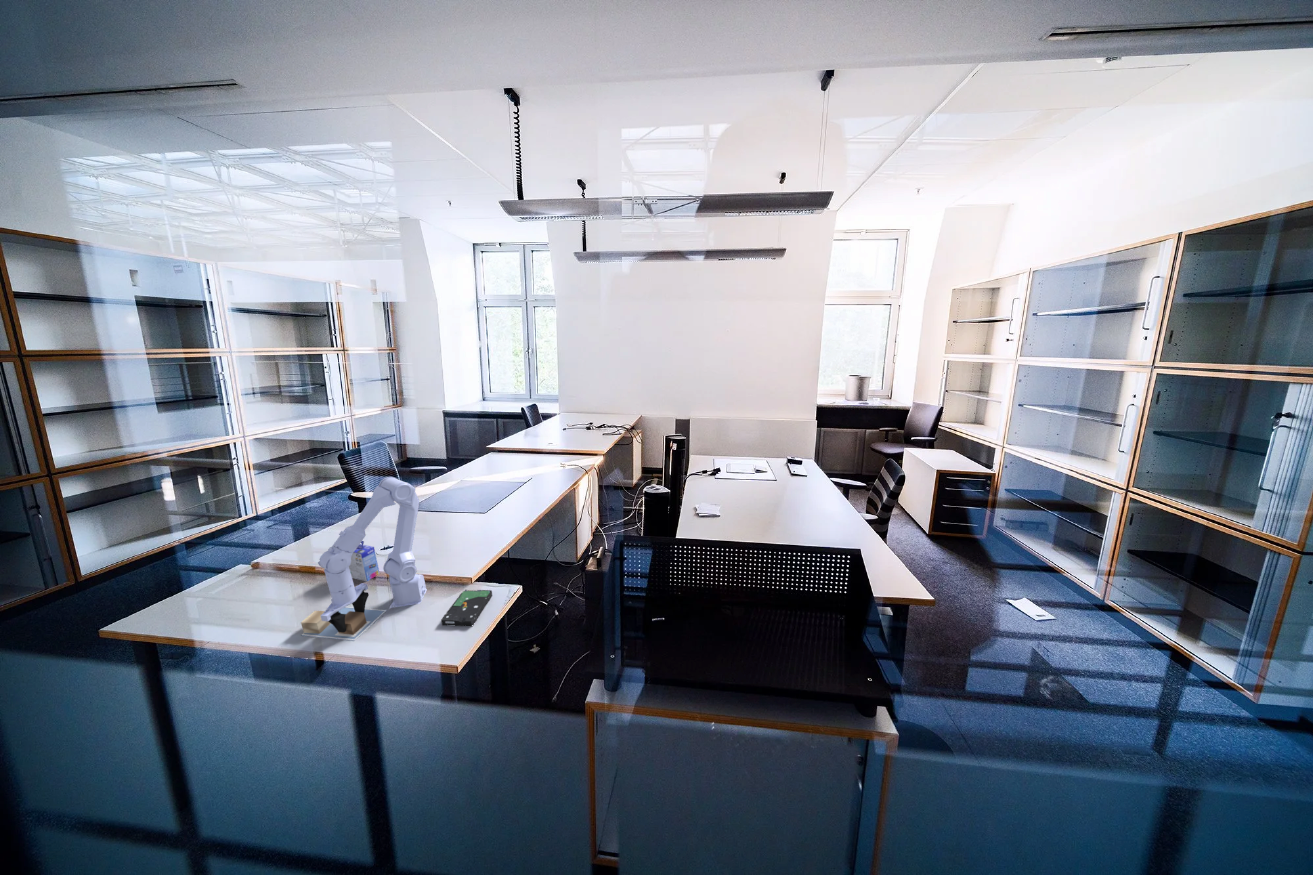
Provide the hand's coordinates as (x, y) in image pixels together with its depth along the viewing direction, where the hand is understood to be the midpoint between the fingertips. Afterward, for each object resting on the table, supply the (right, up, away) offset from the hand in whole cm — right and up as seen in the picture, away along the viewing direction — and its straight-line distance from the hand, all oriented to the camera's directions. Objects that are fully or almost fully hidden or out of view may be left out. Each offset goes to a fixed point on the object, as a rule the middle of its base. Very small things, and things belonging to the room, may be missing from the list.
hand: (351, 623), depth 123 cm
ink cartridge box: (-15, +5, +26) cm, 31 cm away
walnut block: (0, -2, +1) cm, 2 cm away
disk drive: (+32, -1, +10) cm, 33 cm away
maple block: (-11, -2, +1) cm, 11 cm away
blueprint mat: (-4, -2, +3) cm, 6 cm away
